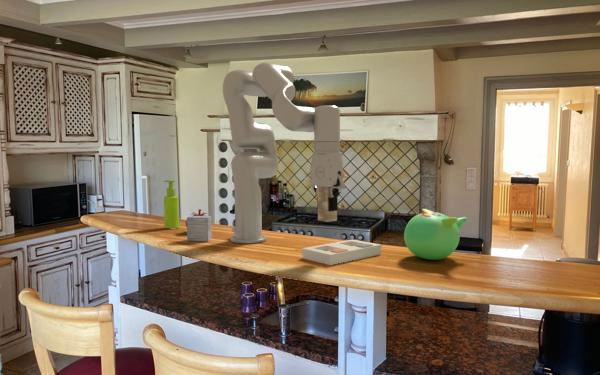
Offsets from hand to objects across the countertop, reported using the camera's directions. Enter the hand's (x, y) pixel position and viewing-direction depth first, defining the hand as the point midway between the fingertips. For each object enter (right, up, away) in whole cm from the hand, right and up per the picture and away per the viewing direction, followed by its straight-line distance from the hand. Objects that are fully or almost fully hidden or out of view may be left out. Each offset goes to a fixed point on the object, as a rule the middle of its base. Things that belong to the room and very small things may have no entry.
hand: (327, 209), depth 142 cm
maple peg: (0, -3, 0) cm, 3 cm away
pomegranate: (-48, -11, +47) cm, 68 cm away
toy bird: (+32, -15, +1) cm, 35 cm away
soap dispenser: (-62, -11, +58) cm, 86 cm away
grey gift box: (-44, -13, +30) cm, 55 cm away
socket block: (+5, -14, +4) cm, 16 cm away
